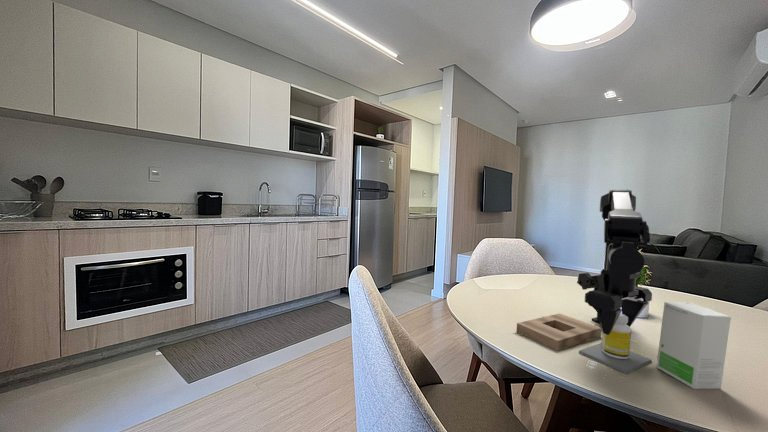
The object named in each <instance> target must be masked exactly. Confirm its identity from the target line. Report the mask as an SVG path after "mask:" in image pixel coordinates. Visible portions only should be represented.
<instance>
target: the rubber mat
mask: <svg viewBox="0 0 768 432" xmlns="http://www.w3.org/2000/svg"><path fill="white" fill-rule="evenodd" d="M601 347H602V342H600V343H597V344H594V345H591V346H587V347H585V348H582V349H580V350H578V354H581V355H584V356H585V357H588V358H590V359H592V360H594V361H595V362H599V363H601V364H603V365H606V366H608V367H610V368H613V369H615V370H617V371H620V372H622V373H624V374H628V373H630V372H633V371H635V370H637V369H639V368H642V367H644V366H646V365H648V364H651V363H652V362H653V361H652V360H653V359H652V358H649V357H647V356H644V355H642V354H639V353H636V352H634V351H631V350H630V351H629V358H628V359H617V358H613V357H610V356H608V355H606V354H604V353H603V352H602V350H601Z"/></svg>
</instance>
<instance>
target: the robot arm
mask: <svg viewBox="0 0 768 432" xmlns="http://www.w3.org/2000/svg"><path fill="white" fill-rule="evenodd" d="M632 191H633V190H632V189H631V190H629V189H628V188H625V189H620V188H619V189H618V188H617V189H616V188H615V189H614V188H612V189H610V190H609V191H608V193H606V194H604V195H601V196H600V201H599V212H600V213H601V218H602V219H603V221H604V222H603V223H604V224H603V242H604V244H605V249H604V250H605V251H604V263H603V269H602V270H601V271H600V274H598V275H597V274H596V275H591V274H590V273H589V272H584V273H579V274H578V277H577V282H576V283H577V284H578V286H580V287H581V289H582V290H589V289H593V290H589V291H587V292H586V293H584V302H585V303H586V304H588V306H590V307H592V308H593V310H594V311H595V312H596V317H592V318H591V321H594V322H596V323H599V324H600V326H601V331H602V334H603V333H604V334H607V335H609V334H610V333H611V331H612V329H613V327H614V325H615V323H616V321H617V319H618V317H619V315H620V314H623V315H626V316H628V323H627V324H626V325H628V326H629V327H630V328H631V326H632V325H633V324H634V322H635V321H636V319H637V318H638V317H639V315H640V314H641V313H642V312H643V311H644V309H645V308H646V306H648V305H649V302H652V300H653V293H652V291H651V290H650V289H649V288H648V287H647V288H646V287H641V286H636V283H637V282H636V281H637V279H639V278H640V277H641V273H640V271H642V270H643V268H644V267H645V263H646V262H645V258H644V255H643V254H642V253H641V252H640V251H639V246H641V247H647V246H648V244H649V243H650V241H651V237H650V236H651V235H650V234H651V233H650V227H649V225H648V224H647V221H646V220H644V218H643V216H642V214H641V213H640V212H638V211H636V207H637V196H636V195H633V194H632Z"/></svg>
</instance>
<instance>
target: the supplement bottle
mask: <svg viewBox="0 0 768 432" xmlns="http://www.w3.org/2000/svg"><path fill="white" fill-rule="evenodd" d="M627 323H628V316H626V315H623V314H622V313H620V315H619V317H618V319H617V321H616V323H615V325H614V327H613V329H612V331H611V333H610V334H609V335H607V334H604V333H603V332H602V333H601V338H602V339H601V343H602V347H601V350H602V352H603V353H604V354H606V355H608V356H610V357H613V358H617V359H628V358H629V351H631V350H630V348H631V337H632V336H631V334H632V329H631V326H630V327H629V326H628V325H626V324H627Z"/></svg>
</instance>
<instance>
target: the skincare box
mask: <svg viewBox="0 0 768 432" xmlns="http://www.w3.org/2000/svg"><path fill="white" fill-rule="evenodd" d="M662 312H663V313H662V320H661V327H660V328H661V329H660V336H659V337H660V338H659V345H658V351H657V352H658V353H657V360H656V361H657V362H656V368H657V369H659V370H660V371H663V372H664V373H666V374H667V375H669V376H671V377H673V378H674V379H676V380H678V381H680V382H681V383H683V384H685V385H686V386H688V387H689V388H691V389H694V390H712V389H713V390H719V389H721V388H722V384H723V383H722V381H723V378H724V377H723V376H724V369H725V367H724V366H725V361H726V355H727V346H728V341H729V340H728V339H729V332H730V327H731V326H730V325H731V320H732V316H730V315H728V314H724V313H721V312H718V311H715V310H713V309H711V308H708V307H705V306H700V305H698V304H694V303H692V302H688V301H686V302H685V301H679V302H678V301H664V303H663V311H662Z"/></svg>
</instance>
